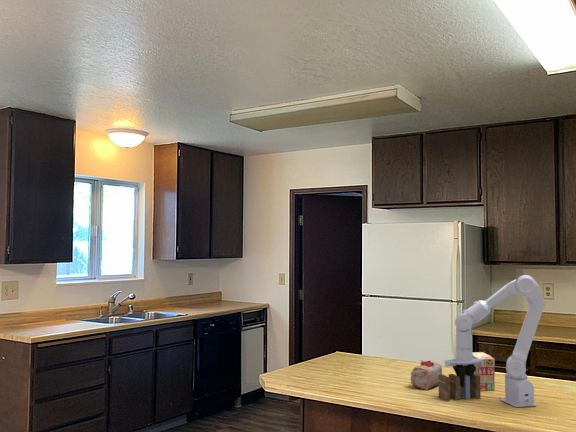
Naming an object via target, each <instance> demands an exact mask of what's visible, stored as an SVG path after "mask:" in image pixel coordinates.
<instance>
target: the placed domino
mask: <svg viewBox="0 0 576 432" xmlns="http://www.w3.org/2000/svg"><path fill="white" fill-rule="evenodd" d="M460 398H461V399H464V400H470V399H471V396H470V376H468V375H466V374H465V377H464V387H461V386H460Z"/></svg>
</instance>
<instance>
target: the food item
mask: <svg viewBox="0 0 576 432" xmlns="http://www.w3.org/2000/svg"><path fill="white" fill-rule="evenodd" d="M440 374H443V368H442V365H441V364H440V363H438V362H434V361H431V360H428V361H427V360H426V361H425V360H420V365H417V366H415V367H413V369H412V370H411V372H410V383H411V385H412V386H413V387H414V388H417V389H419V390H424V391H428V390H430V389H432V388H435V387H437V386H438V387H439V375H440Z"/></svg>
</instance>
